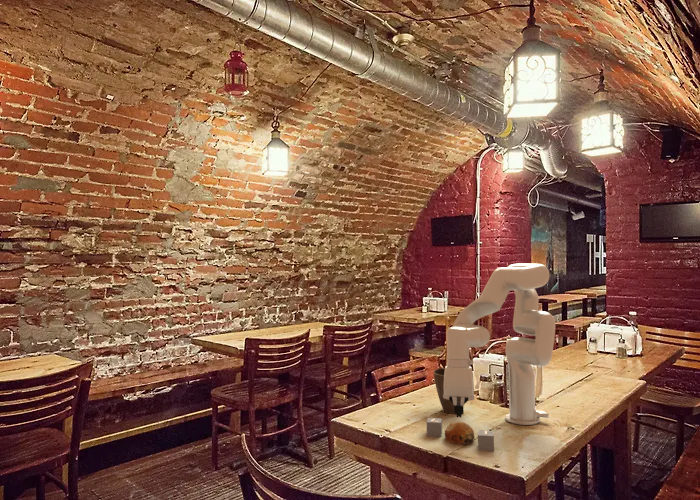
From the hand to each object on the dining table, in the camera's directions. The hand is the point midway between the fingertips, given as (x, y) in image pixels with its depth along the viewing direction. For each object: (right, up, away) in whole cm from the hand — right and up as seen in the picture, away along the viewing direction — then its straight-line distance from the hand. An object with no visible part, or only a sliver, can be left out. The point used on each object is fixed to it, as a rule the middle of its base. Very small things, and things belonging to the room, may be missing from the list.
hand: (459, 416), depth 183 cm
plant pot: (+4, -9, +34) cm, 35 cm away
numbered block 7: (-7, -9, +6) cm, 13 cm away
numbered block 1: (+7, -8, -8) cm, 14 cm away
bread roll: (0, -9, 0) cm, 9 cm away
